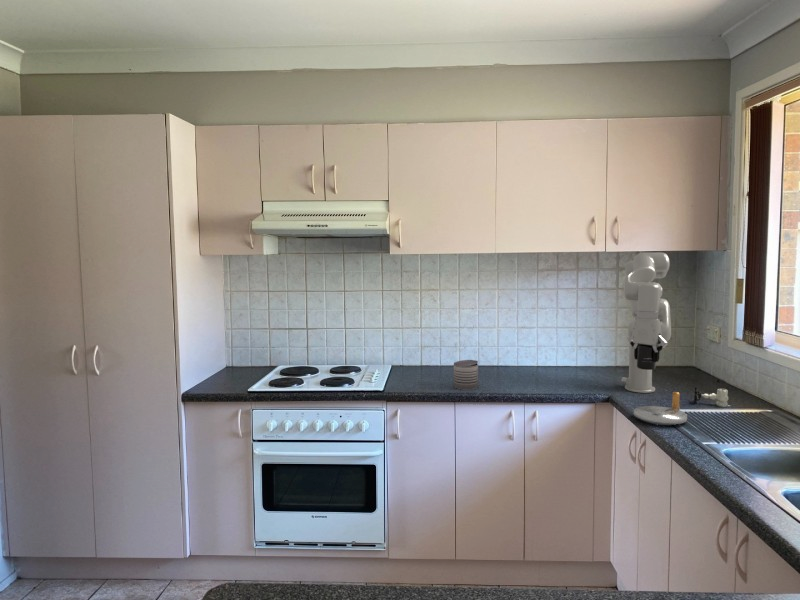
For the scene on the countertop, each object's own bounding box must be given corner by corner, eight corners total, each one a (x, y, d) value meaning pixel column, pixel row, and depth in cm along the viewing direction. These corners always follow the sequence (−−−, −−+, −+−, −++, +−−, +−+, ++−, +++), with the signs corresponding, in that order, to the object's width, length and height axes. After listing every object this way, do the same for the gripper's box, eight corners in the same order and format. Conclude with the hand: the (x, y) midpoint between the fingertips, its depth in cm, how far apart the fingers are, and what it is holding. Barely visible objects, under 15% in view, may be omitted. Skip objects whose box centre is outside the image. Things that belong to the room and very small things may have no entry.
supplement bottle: (646, 370, 217) (647, 340, 216) (632, 367, 223) (633, 337, 222) (659, 369, 220) (660, 338, 219) (645, 365, 226) (646, 336, 225)
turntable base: (668, 428, 199) (668, 425, 199) (632, 419, 210) (632, 416, 210) (688, 420, 208) (688, 418, 208) (651, 412, 219) (651, 409, 219)
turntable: (671, 427, 196) (672, 407, 196) (624, 415, 211) (624, 397, 210) (701, 415, 209) (701, 397, 209) (654, 405, 224) (655, 387, 223)
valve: (727, 404, 228) (694, 400, 234) (728, 388, 227) (695, 385, 233) (727, 408, 222) (693, 404, 228) (728, 392, 222) (694, 388, 228)
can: (479, 390, 256) (479, 364, 255) (454, 390, 256) (454, 364, 255) (477, 384, 267) (477, 359, 266) (453, 384, 268) (452, 359, 267)
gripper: (622, 314, 224) (620, 358, 226) (664, 318, 210) (662, 365, 212) (632, 312, 229) (631, 355, 230) (674, 316, 215) (673, 362, 216)
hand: (646, 359), depth 221 cm, fingers closed on supplement bottle, 6 cm apart
